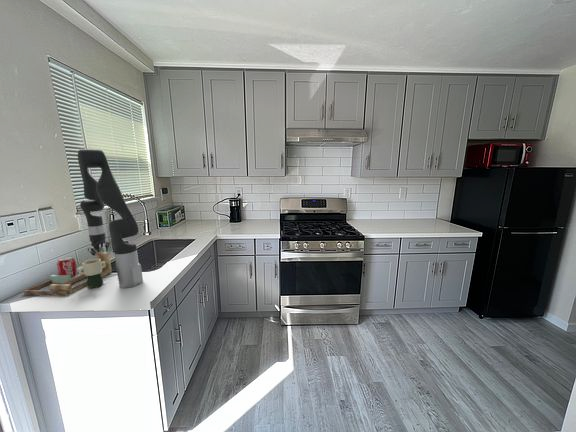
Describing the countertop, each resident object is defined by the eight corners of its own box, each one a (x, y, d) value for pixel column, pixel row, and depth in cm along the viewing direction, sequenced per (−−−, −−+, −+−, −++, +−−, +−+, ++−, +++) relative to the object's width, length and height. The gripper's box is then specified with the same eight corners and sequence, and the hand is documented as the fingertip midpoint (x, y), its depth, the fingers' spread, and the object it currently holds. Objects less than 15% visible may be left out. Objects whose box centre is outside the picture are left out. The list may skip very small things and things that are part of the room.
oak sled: (114, 271, 134) (111, 252, 132) (69, 293, 109) (65, 271, 107) (98, 270, 135) (95, 252, 133) (51, 293, 110) (46, 270, 108)
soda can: (82, 277, 127) (78, 255, 125) (70, 283, 120) (65, 260, 118) (69, 277, 127) (64, 256, 125) (56, 283, 120) (51, 261, 118)
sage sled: (110, 264, 144) (107, 247, 142) (69, 283, 119) (65, 263, 117) (95, 264, 145) (92, 246, 143) (51, 283, 120) (47, 262, 118)
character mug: (104, 280, 123) (100, 256, 121) (111, 282, 120) (108, 258, 118) (78, 289, 114) (74, 263, 112) (86, 292, 111) (81, 266, 108)
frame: (108, 274, 130) (107, 271, 129) (67, 296, 107) (66, 292, 107) (72, 273, 131) (71, 270, 131) (24, 294, 109) (23, 290, 109)
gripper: (92, 236, 133) (97, 265, 136) (112, 230, 146) (116, 256, 150) (80, 235, 134) (85, 264, 137) (100, 230, 147) (105, 256, 150)
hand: (101, 260), depth 143 cm, fingers closed
